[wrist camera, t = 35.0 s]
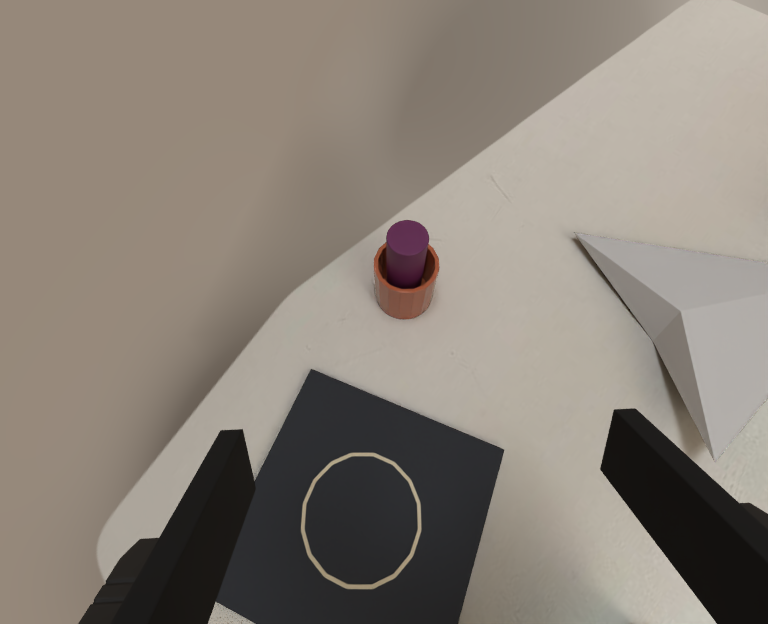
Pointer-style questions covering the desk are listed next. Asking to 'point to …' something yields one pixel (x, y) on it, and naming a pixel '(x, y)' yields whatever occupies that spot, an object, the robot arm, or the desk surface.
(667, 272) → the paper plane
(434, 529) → the felt pad
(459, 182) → the desk surface
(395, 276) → the cylinder
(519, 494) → the desk surface
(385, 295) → the pen pot
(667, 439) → the robot arm
